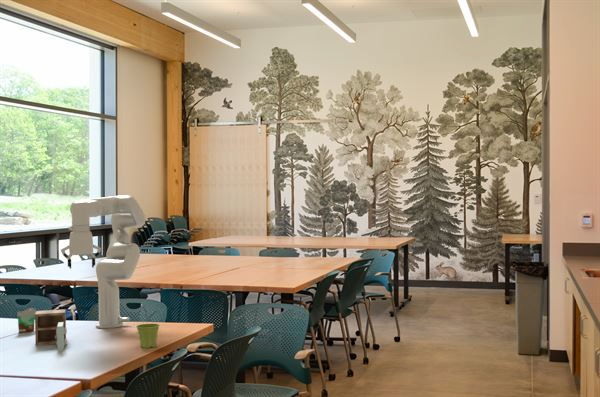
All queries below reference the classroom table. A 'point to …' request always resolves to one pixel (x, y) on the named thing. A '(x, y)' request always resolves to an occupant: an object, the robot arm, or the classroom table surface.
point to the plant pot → (148, 334)
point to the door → (61, 336)
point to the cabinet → (48, 325)
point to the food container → (26, 320)
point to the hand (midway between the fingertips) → (81, 267)
